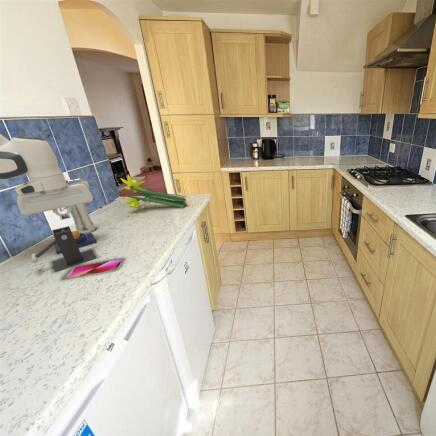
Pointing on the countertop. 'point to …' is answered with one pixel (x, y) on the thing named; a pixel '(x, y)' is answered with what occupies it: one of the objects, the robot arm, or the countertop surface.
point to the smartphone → (95, 268)
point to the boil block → (80, 241)
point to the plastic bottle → (82, 218)
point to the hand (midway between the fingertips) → (66, 218)
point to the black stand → (69, 250)
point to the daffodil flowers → (151, 195)
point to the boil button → (76, 234)
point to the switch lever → (43, 250)
